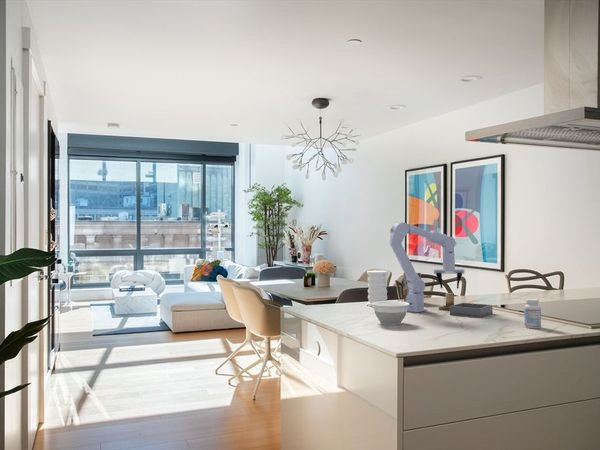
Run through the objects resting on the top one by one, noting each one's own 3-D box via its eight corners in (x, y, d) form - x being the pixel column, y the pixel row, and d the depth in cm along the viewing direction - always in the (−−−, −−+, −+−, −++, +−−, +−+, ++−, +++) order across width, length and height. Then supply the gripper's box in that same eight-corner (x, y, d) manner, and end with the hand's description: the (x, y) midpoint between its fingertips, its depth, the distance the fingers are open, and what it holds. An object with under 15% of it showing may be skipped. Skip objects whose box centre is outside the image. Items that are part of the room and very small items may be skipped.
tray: (480, 317, 246) (480, 308, 246) (449, 314, 255) (449, 306, 255) (492, 313, 257) (492, 304, 257) (462, 310, 266) (462, 302, 266)
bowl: (365, 321, 239) (365, 302, 239) (397, 319, 244) (397, 300, 244) (383, 327, 224) (383, 306, 224) (417, 325, 229) (416, 304, 229)
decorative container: (381, 303, 296) (381, 270, 297) (393, 306, 286) (392, 271, 286) (362, 304, 292) (362, 271, 292) (373, 307, 281) (373, 272, 281)
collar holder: (454, 311, 265) (454, 308, 265) (438, 309, 270) (438, 306, 270) (461, 309, 271) (461, 306, 271) (445, 308, 276) (445, 305, 277)
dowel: (452, 310, 268) (451, 294, 268) (444, 309, 271) (444, 293, 271) (455, 309, 271) (455, 293, 271) (447, 308, 274) (447, 292, 274)
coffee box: (422, 302, 300) (421, 272, 300) (421, 303, 294) (420, 273, 294) (404, 301, 302) (404, 272, 303) (403, 303, 296) (403, 273, 296)
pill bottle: (527, 325, 225) (526, 298, 225) (543, 327, 221) (542, 299, 221) (522, 327, 220) (522, 299, 220) (538, 329, 216) (538, 300, 216)
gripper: (464, 260, 273) (465, 287, 273) (434, 260, 277) (435, 287, 277) (464, 260, 266) (464, 289, 266) (433, 261, 270) (434, 288, 270)
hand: (449, 288), depth 271 cm, fingers open, 7 cm apart
